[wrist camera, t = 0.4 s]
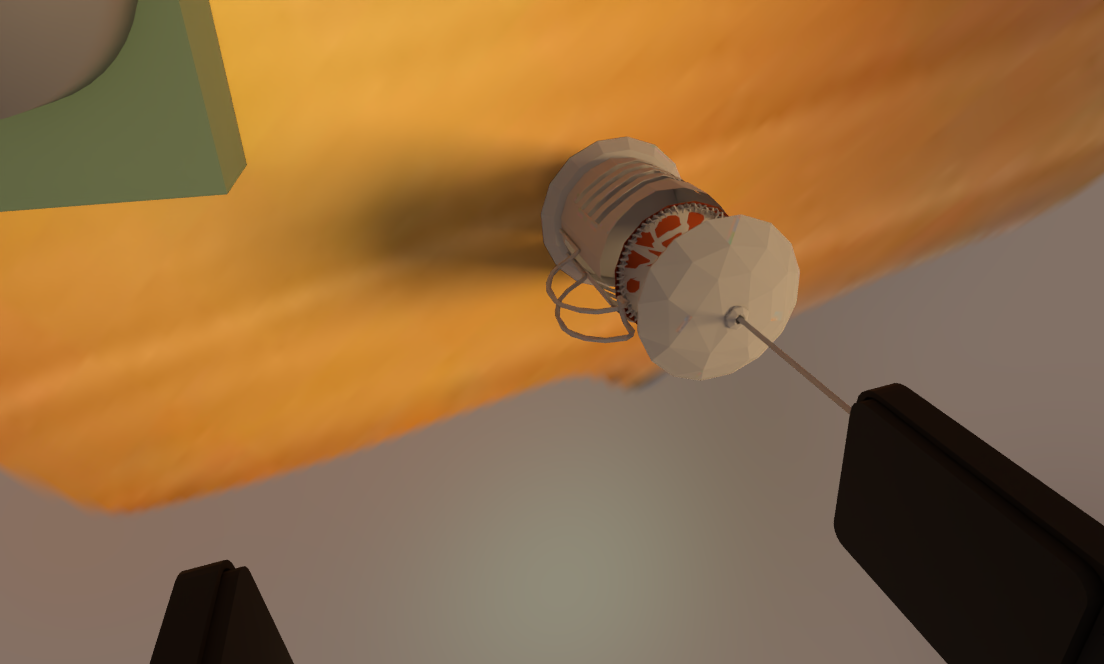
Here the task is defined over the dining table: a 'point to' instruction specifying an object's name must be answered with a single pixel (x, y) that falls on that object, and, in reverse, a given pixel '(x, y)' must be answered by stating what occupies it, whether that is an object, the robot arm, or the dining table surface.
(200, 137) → the green box with dome
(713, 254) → the french press
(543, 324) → the dining table surface
